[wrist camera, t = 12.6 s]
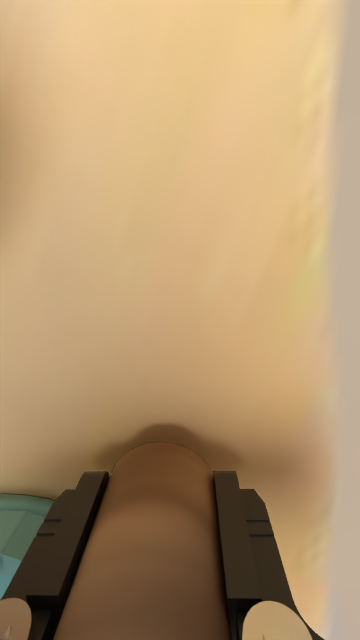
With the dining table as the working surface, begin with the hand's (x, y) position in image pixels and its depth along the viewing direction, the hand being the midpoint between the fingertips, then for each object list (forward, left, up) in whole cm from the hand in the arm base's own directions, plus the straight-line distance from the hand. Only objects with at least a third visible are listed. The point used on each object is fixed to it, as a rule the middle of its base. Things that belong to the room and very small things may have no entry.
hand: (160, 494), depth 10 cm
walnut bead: (0, 0, 0) cm, 0 cm away
